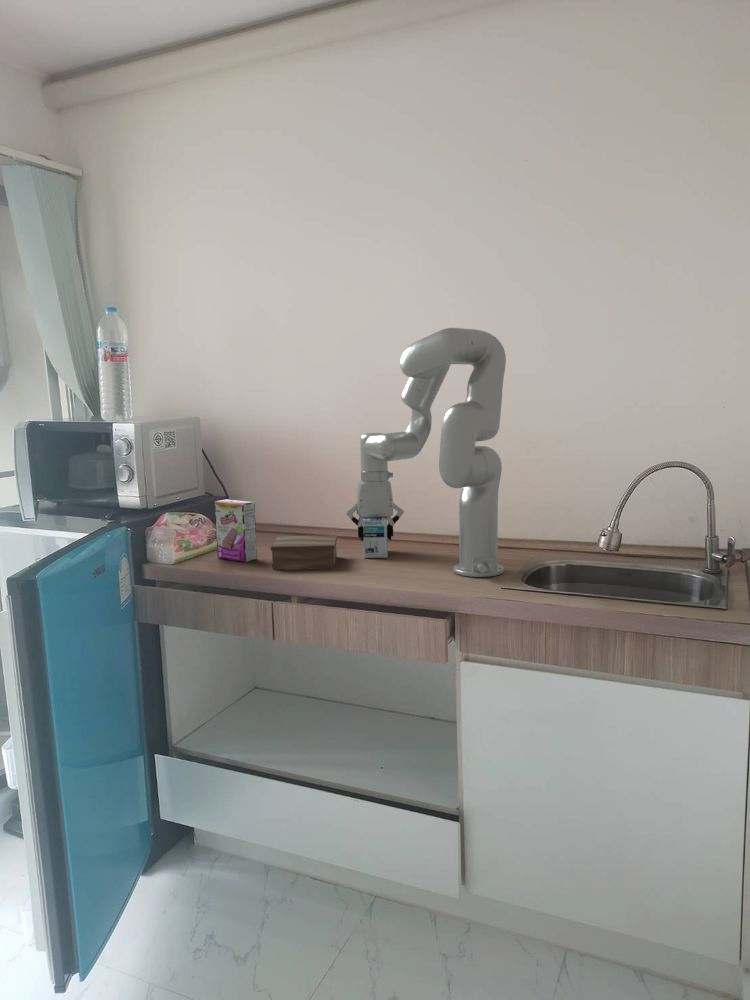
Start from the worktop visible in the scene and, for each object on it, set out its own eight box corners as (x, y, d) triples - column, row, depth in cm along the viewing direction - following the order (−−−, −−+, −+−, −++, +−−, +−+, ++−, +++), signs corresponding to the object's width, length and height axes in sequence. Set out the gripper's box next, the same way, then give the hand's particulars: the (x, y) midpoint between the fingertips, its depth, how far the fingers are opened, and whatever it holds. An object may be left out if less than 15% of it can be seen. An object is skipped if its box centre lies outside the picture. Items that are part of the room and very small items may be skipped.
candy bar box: (216, 558, 206) (213, 501, 204) (229, 555, 210) (226, 498, 208) (245, 562, 200) (242, 503, 197) (258, 559, 204) (255, 501, 202)
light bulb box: (387, 558, 202) (387, 519, 200) (363, 558, 202) (362, 520, 200) (387, 550, 212) (387, 513, 211) (364, 550, 213) (364, 514, 211)
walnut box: (335, 569, 191) (334, 545, 190) (271, 571, 191) (270, 546, 190) (337, 557, 205) (337, 535, 204) (278, 558, 205) (277, 536, 204)
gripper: (403, 474, 209) (404, 535, 211) (342, 476, 207) (344, 538, 209) (407, 477, 201) (408, 540, 204) (344, 479, 200) (346, 543, 202)
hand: (375, 539), depth 207 cm, fingers closed on light bulb box, 7 cm apart
